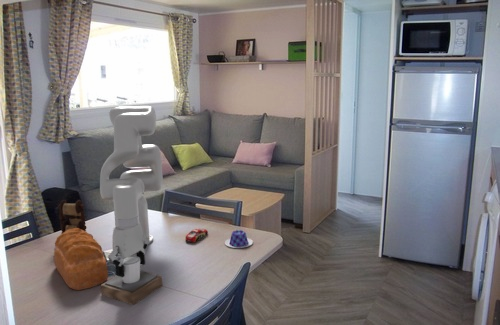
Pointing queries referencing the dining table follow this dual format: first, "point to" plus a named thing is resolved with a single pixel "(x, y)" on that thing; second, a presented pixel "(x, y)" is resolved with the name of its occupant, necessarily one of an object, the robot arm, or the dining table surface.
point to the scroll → (72, 216)
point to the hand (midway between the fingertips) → (131, 269)
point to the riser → (131, 287)
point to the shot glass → (131, 269)
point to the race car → (196, 235)
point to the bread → (80, 259)
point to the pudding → (238, 239)
